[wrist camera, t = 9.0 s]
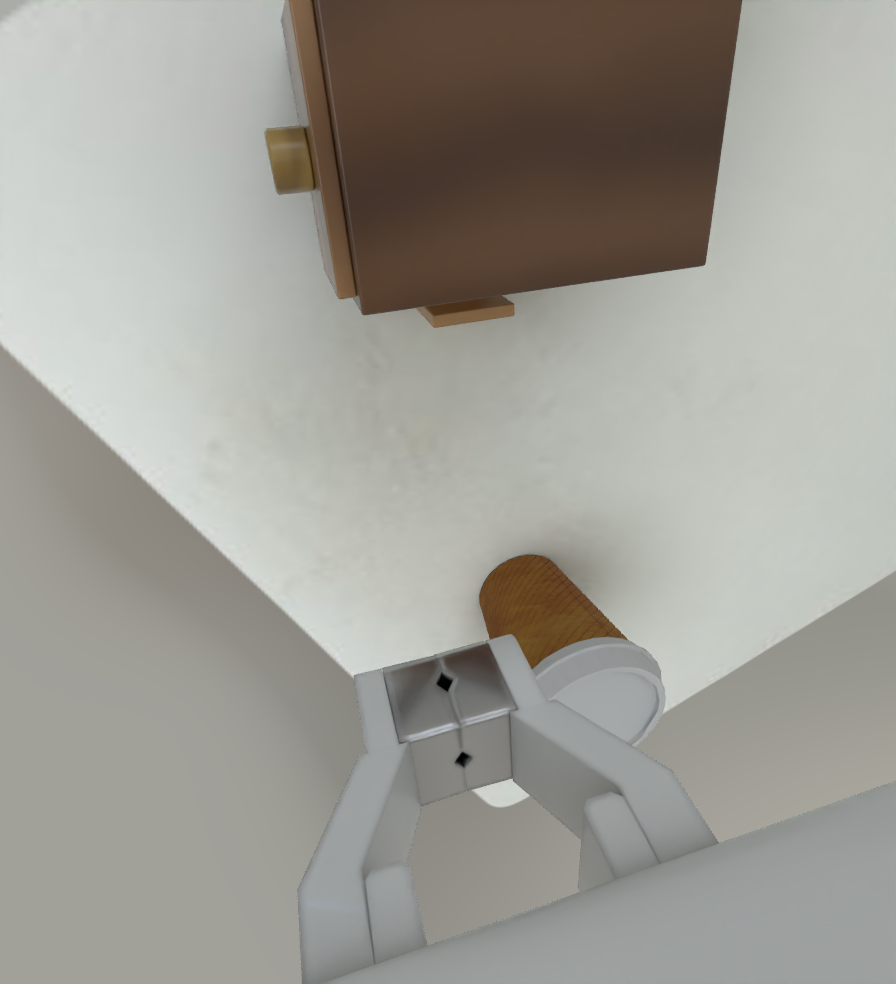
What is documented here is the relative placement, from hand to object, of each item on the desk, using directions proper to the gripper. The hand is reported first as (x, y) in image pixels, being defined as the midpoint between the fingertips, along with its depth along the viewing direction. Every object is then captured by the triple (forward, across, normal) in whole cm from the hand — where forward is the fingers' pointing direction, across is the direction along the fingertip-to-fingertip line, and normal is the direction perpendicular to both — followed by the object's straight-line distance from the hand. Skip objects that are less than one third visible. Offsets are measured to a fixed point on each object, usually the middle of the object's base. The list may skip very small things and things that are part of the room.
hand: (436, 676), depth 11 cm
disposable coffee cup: (+24, -10, +21) cm, 34 cm away
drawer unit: (+24, -7, -8) cm, 26 cm away
